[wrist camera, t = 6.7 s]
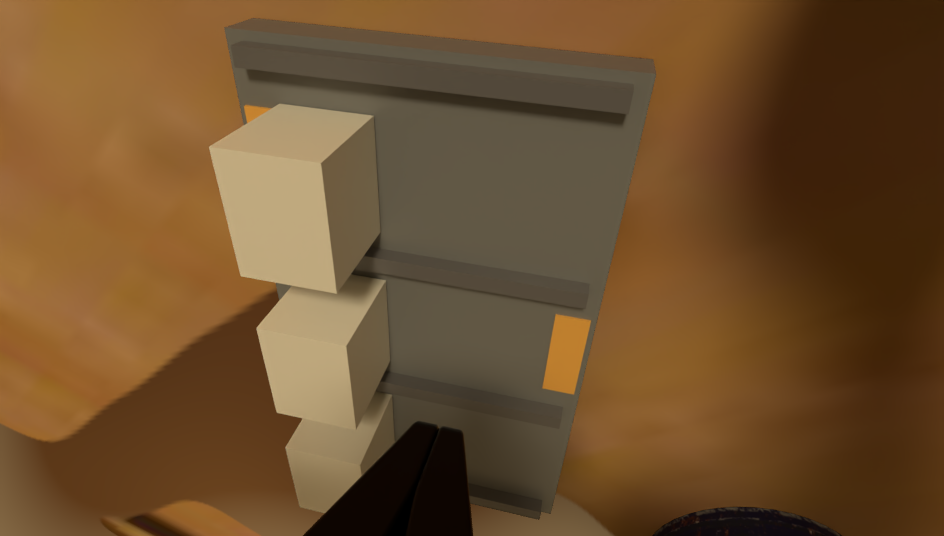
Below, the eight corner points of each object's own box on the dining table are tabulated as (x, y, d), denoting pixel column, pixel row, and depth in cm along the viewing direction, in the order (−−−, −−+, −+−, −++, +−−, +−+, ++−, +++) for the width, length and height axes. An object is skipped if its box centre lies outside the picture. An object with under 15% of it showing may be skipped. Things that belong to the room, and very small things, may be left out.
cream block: (392, 394, 23) (360, 465, 20) (395, 453, 25) (366, 523, 22) (325, 380, 23) (285, 447, 20) (334, 439, 25) (299, 506, 23)
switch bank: (653, 59, 15) (657, 80, 13) (553, 485, 26) (549, 526, 25) (252, 18, 17) (211, 31, 15) (324, 433, 28) (305, 467, 26)
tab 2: (386, 280, 19) (346, 346, 16) (390, 360, 22) (355, 430, 19) (307, 266, 20) (256, 328, 17) (320, 346, 22) (276, 412, 19)
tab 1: (373, 115, 16) (320, 163, 13) (380, 232, 18) (336, 293, 15) (279, 103, 16) (208, 146, 13) (297, 218, 19) (240, 276, 16)
